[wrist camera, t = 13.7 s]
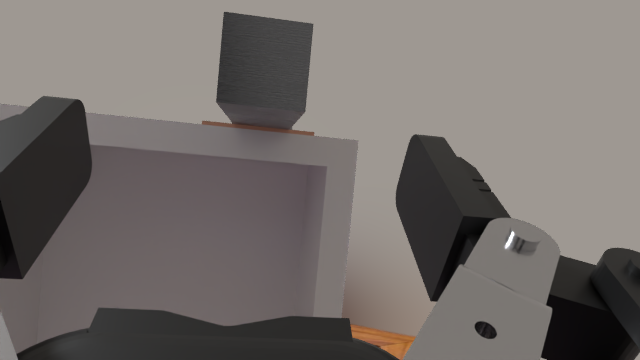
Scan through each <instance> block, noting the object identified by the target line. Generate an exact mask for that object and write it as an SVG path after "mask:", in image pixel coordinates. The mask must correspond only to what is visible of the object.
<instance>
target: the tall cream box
mask: <svg viewBox="0 0 640 360" xmlns="http://www.w3.org/2000/svg"><path fill="white" fill-rule="evenodd" d="M28 108H29V107H26V106H17V105H7V104H0V121H1V120H4V119H6V118H9V117H11V116H14V115H16V114H22V113H23V112H24V111H25V110H26V109H28ZM85 114H86V121H87V128H88V135H89V142H90V149H91V156H92V171H91V176H90V180H89V182H88V184H87V186H86V187H85V189H84V190H83V192H82V193H81V195H80V196H79V197H78V199H77V200H76V202H75V203H74V205H73V206H72V208H71V209H70V211H69V212H68V214H67V215H66V217H65V218H64V219H63V221H62V222H61V224H60V225H59V227H58V228H57V230H56V231H55V233H54V234H53V236H52V237H51V239H50V240H49V241H48V243H47V244H46V246H45V247H44V249H43V250H42V252H41V253H40V255H39V256H38V258H37V259H36V261H35V262H34V263H33V265H32V266H31V268H30V269H29V271H28V272H27V274H26V275H25V277H24V278H23V279H3V278H0V311H1V313H2V316H3V319H4V322H5V325H6V327H7V330H8V333H9V336H10V338H11V341H12V344H13V347H14V350H15V352H16V354H17V353H19V352H21V351H23V350H25V349H27V348H29V347H31V346H33V345H35V344H38V343H40V342H42V341H44V340H47V339H50V338H53V337H56V336H58V335H61V334H65V333H68V332H72V331H76V330H80V329H86V328H89V327H90V325H91V323H92V321H93V319H94V316H95V314H96V312H97V310H98V308H120V309H143V310H164V311H168V312H172V313H176V314H179V315H183V316H187V317H191V318H195V319H199V320H203V321H206V322H210V323H214V324H218V325H223V326H234V325H240V324H246V323H252V322H258V321H264V320H270V319H276V318H282V317H287V316H305V317H328V318H341V316H342V306H343V296H344V285H345V274H346V264H347V254H348V243H349V233H350V223H351V212H352V202H353V192H354V181H355V171H356V170H355V169H356V160H357V150H358V140H349V139H338V138H329V137H319V136H314V132H306V131H297V130H287V129H278V128H268V127H258V126H249V125H239V124H229V123H220V122H210V121H202V124H192V123H183V122H173V121H163V120H153V119H143V118H133V117H124V116H114V115H104V114H95V113H85Z"/></svg>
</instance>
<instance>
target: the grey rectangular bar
mask: <svg viewBox="0 0 640 360" xmlns="http://www.w3.org/2000/svg"><path fill="white" fill-rule="evenodd" d="M312 32H313V24H310V23H303V22H296V21H288V20H281V19H274V18H266V17H259V16H252V15H244V14H237V13H229V12H224V17H223V29H222V41H221V53H220V64H219V76H218V88H217V99H216V102H217V104H218V105H219V106H220V108H221V109H222V110H223V111H224V113H225V114H226V115H227V116H228V118H229V119H230V120H231V122H232V124H239V125H249V126H258V127H268V128H278V129H287V130H292V126H293V125H294V124H295V123H296V122H297V120H298V119H299V118H300V117H301V116H302V115H303V114H304V112H305V107H306V97H307V86H308V76H309V65H310V54H311V44H312Z"/></svg>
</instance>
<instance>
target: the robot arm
mask: <svg viewBox="0 0 640 360" xmlns="http://www.w3.org/2000/svg"><path fill="white" fill-rule="evenodd" d="M91 171H92V156H91V149H90V142H89V135H88V128H87V121H86V114H85V109H84V105H83V103H82V102H81V101H80V100H78V99H68V98H59V97H48V96H43V97H41V98H40V99H38V100H37V101H36V102H35V103H34V104H32V105H31V106H30V107H29V108H28V109H26V110H25V111H24V112H23V113H22V114H16V115H14V116H11V117H9V118H6V119H4V120H1V121H0V278H3V279H23V278H24V277H25V275H26V274H27V272H28V271H29V269H30V268H31V266H32V265H33V263H34V262H35V261H36V259H37V258H38V256H39V255H40V253H41V252H42V250H43V249H44V247H45V246H46V244H47V243H48V241H49V240H50V239H51V237H52V236H53V234H54V233H55V231H56V230H57V228H58V227H59V225H60V224H61V222H62V221H63V219H64V218H65V217H66V215H67V214H68V212H69V211H70V209H71V208H72V206H73V205H74V203H75V202H76V200H77V199H78V197H79V196H80V195H81V193H82V192H83V190H84V189H85V187H86V186H87V184H88V182H89V180H90V176H91ZM396 207H397V211H398V213H399V216H400V219H401V222H402V224H403V227H404V230H405V233H406V235H407V238H408V241H409V243H410V246H411V249H412V252H413V254H414V257H415V260H416V262H417V265H418V268H419V271H420V273H421V276H422V279H423V282H424V284H425V287H426V290H427V293H428V295H429V298H430V301H436V302H437V303H436V305H435V306H434V308H433V310H432V312H431V313H430V315H429V317H428V318H427V320H426V321H425V323H424V325H423V326H422V328H421V330H420V331H419V333H418V335H417V336H416V338H415V340H414V341H413V343H412V345H411V346H410V348H409V350H408V351H407V353H406V355H405V356H404V358H403V360H540V358H544V359H547V360H634V359H635V358H636V356H637V355H638V354H639V353H640V253H639V252H636V251H633V250H629V249H624V248H611V249H608V250H606V251H605V252H604V254H603V255H602V257H601V259H600V260H599V262H598V263H597V265H593V264H589V263H586V262H582V261H578V260H575V259H571V258H567V257H564V256H561V255H560V250H559V247H558V245H557V243H556V242H555V241H554V240H553V239H552V238H551V236H549V235H548V234H547V233H546V232H544V231H543V230H541V229H539V228H538V227H536V226H534V225H532V224H530V223H527V222H524V221H521V220H518V219H513V218H511V217H510V216H509V214H508V213H507V211H506V210H505V209H504V207H503V206H502V205H501V203H500V202H499V200H498V199H497V197H496V196H495V195H494V193H493V192H491V189H490V188H489V186H488V185H487V183H485V182H484V179H483V178H482V176H481V175H480V173H479V172H478V171H477V169H476V168H475V167H473V166H472V165H471V164H469V163H468V162H467V161H465V160H464V159H462V158H461V157H457V156H456V155H455V153H454V152H453V150H452V149H451V147H450V146H449V144H448V143H447V141H446V140H445V138H443V137H436V136H426V135H413V136H412V138H411V140H410V142H409V145H408V149H407V152H406V156H405V160H404V163H403V167H402V170H401V174H400V178H399V182H398V185H397V190H396ZM0 360H399V359H398V358H396V357H394V356H393V355H391V354H390V353H388V352H387V351H385V350H383V349H381V348H379V347H377V346H375V345H372V344H370V343H367V342H365V341H362V340H359V339H355V338H352V333H351V326H350V320H349V318H328V317H305V316H287V317H282V318H276V319H270V320H264V321H258V322H252V323H246V324H240V325H234V326H223V325H218V324H214V323H210V322H206V321H203V320H199V319H195V318H191V317H187V316H183V315H179V314H176V313H172V312H168V311H164V310H143V309H120V308H98V310H97V312H96V314H95V316H94V319H93V321H92V323H91V325H90V327H89V328H86V329H80V330H76V331H72V332H68V333H65V334H61V335H58V336H56V337H53V338H50V339H47V340H44V341H42V342H40V343H38V344H35V345H33V346H31V347H29V348H27V349H25V350H23V351H21V352H19V353H17V354H16V352H15V350H14V347H13V344H12V341H11V338H10V336H9V333H8V330H7V327H6V325H5V322H4V319H3V316H2V313H1V311H0Z"/></svg>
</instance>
